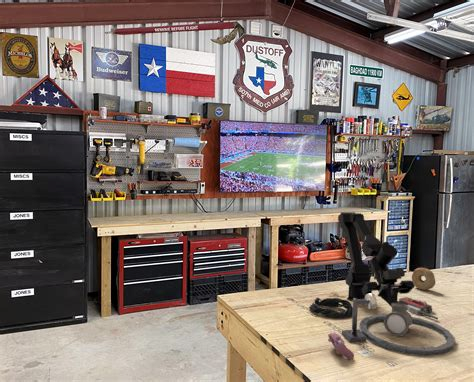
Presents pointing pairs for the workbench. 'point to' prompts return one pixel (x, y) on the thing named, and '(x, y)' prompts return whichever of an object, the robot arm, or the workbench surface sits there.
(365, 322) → the ring
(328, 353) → the workbench surface
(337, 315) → the cable
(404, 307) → the pipe fitting
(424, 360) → the workbench surface
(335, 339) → the purple elongated lump
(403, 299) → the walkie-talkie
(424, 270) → the stone disc
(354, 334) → the stand
